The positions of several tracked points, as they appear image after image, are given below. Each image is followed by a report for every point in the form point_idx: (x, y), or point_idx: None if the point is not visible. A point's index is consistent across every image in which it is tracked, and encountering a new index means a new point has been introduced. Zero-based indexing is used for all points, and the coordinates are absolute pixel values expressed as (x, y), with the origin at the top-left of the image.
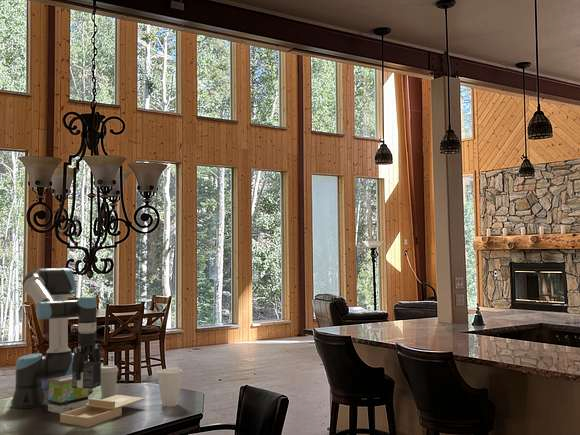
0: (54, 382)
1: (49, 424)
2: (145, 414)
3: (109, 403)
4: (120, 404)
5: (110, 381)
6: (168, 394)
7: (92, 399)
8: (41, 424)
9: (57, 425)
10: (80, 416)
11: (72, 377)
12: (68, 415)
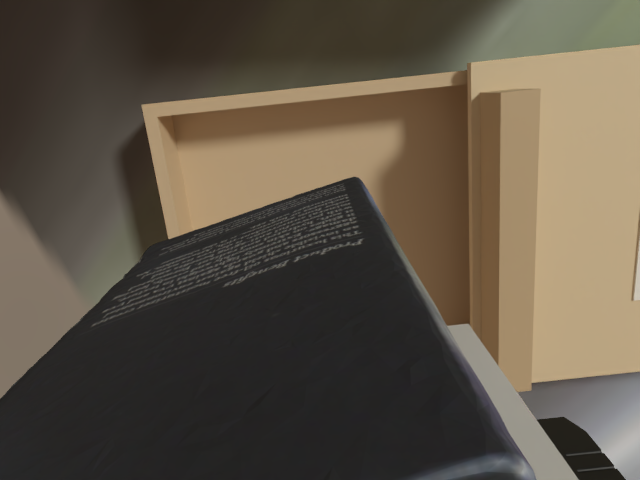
0: None
1: (74, 77)
2: (611, 442)
3: (492, 354)
4: (590, 345)
5: None
6: None
7: (499, 151)
8: (30, 14)
9: (100, 159)
10: (318, 160)
11: (74, 330)
12: (162, 204)
